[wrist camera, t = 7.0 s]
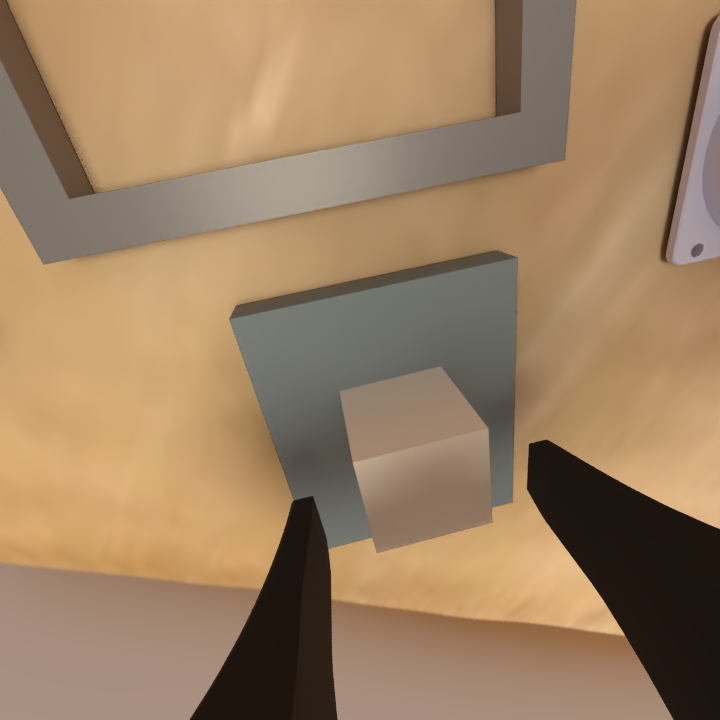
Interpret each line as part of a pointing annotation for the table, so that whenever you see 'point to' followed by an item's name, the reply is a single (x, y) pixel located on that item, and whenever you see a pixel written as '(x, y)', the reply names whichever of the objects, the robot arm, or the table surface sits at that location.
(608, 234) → the table surface
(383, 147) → the pocket frame
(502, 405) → the slate pad
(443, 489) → the cream block
